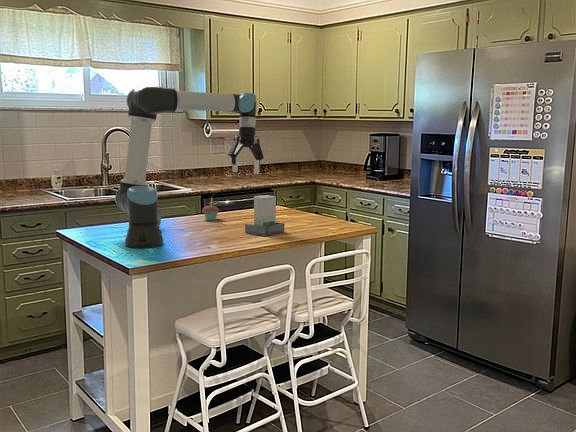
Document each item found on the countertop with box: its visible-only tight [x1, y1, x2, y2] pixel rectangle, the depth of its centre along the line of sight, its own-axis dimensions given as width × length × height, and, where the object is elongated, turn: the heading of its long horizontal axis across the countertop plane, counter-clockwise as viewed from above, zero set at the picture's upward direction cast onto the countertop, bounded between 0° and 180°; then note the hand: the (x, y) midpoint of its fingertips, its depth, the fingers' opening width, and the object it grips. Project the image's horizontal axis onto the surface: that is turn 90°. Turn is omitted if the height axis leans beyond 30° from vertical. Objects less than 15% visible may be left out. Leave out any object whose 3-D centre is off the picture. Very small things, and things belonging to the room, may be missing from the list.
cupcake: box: [201, 197, 220, 221], centre depth 287 cm, size 9×8×12 cm
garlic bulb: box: [158, 212, 162, 229], centre depth 263 cm, size 10×8×10 cm
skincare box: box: [253, 194, 277, 227], centre depth 257 cm, size 8×7×16 cm
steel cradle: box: [244, 221, 285, 237], centre depth 258 cm, size 13×13×4 cm
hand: (245, 172), depth 266 cm, fingers open, 13 cm apart
